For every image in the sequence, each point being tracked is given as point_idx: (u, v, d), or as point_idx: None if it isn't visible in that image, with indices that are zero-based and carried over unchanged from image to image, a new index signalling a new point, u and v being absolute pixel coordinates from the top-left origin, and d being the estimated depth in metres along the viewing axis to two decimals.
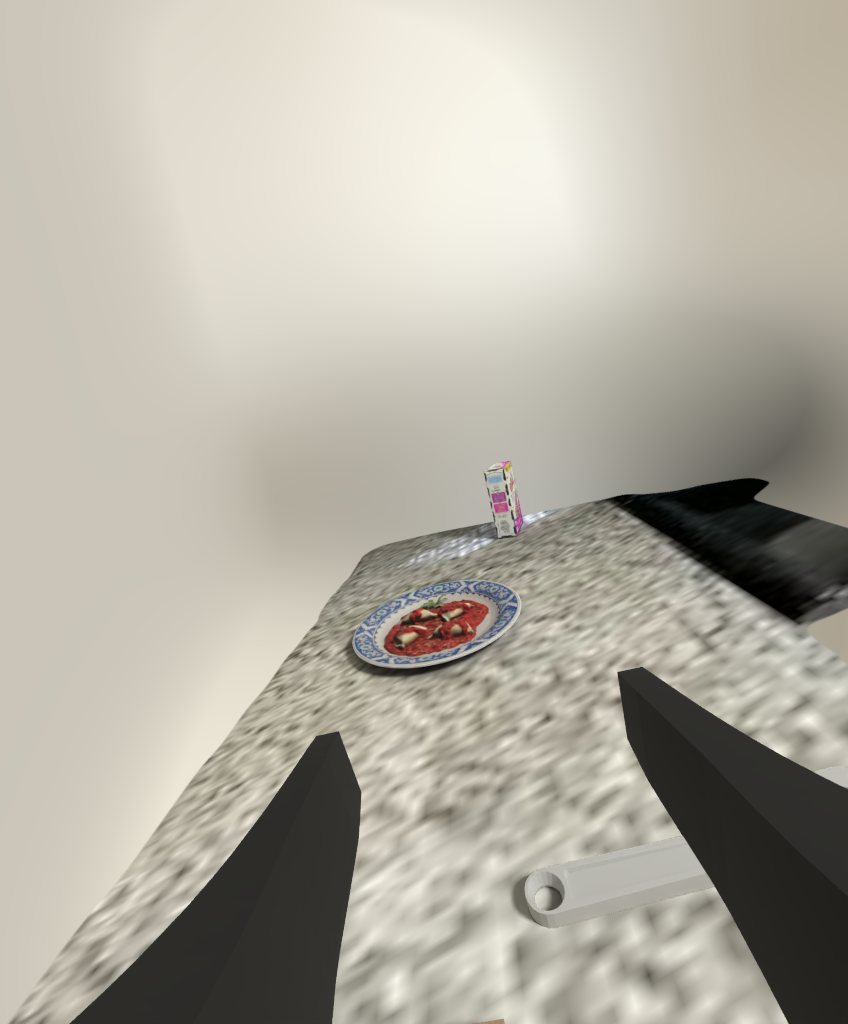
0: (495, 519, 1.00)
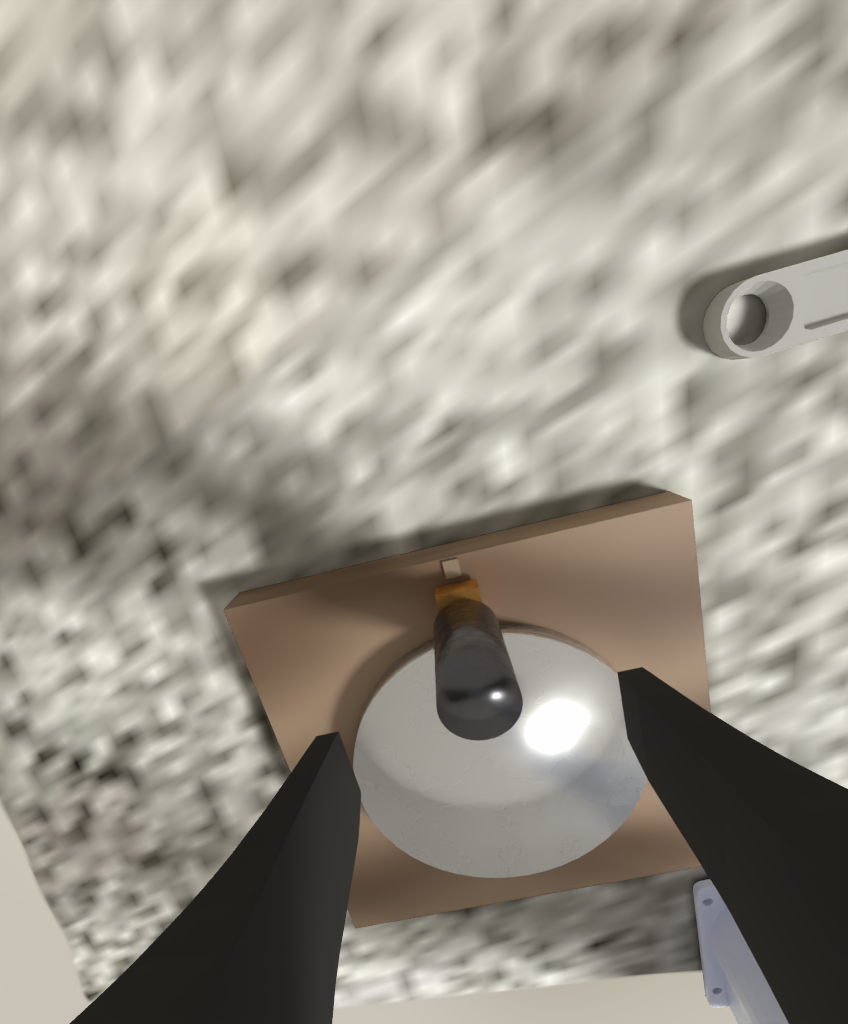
0: None
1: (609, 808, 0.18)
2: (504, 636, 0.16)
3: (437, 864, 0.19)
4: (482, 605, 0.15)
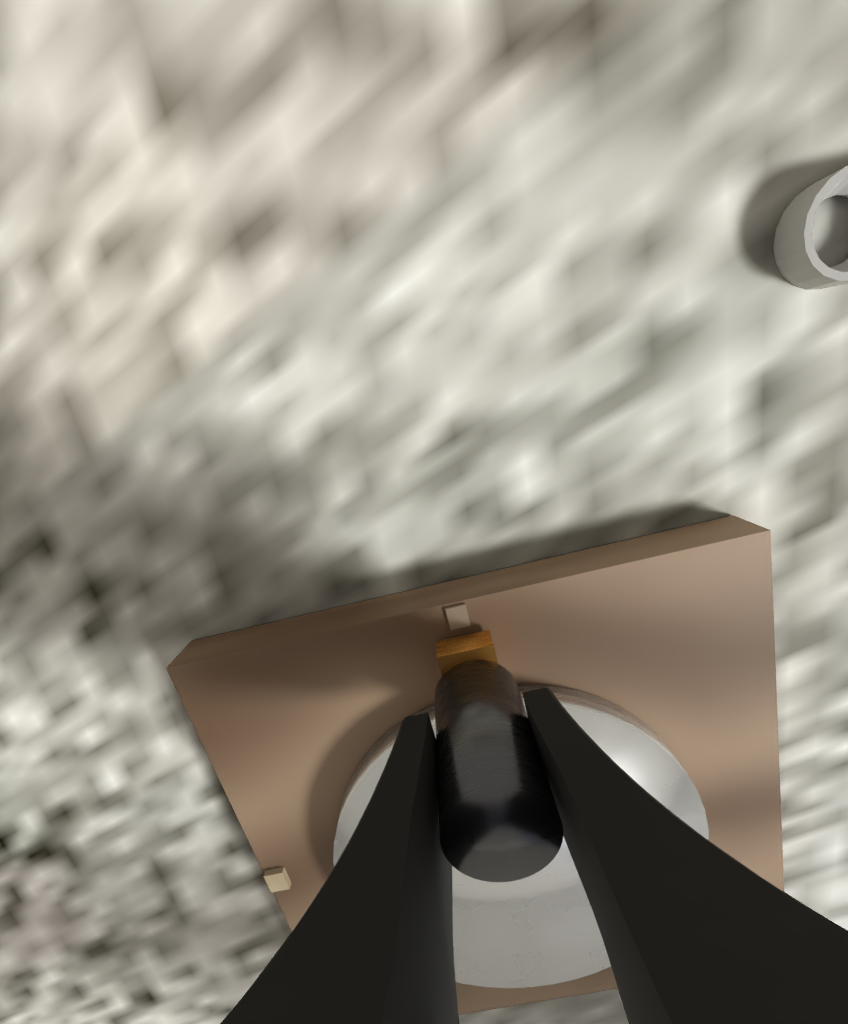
0: None
1: None
2: None
3: None
4: (498, 668, 0.12)
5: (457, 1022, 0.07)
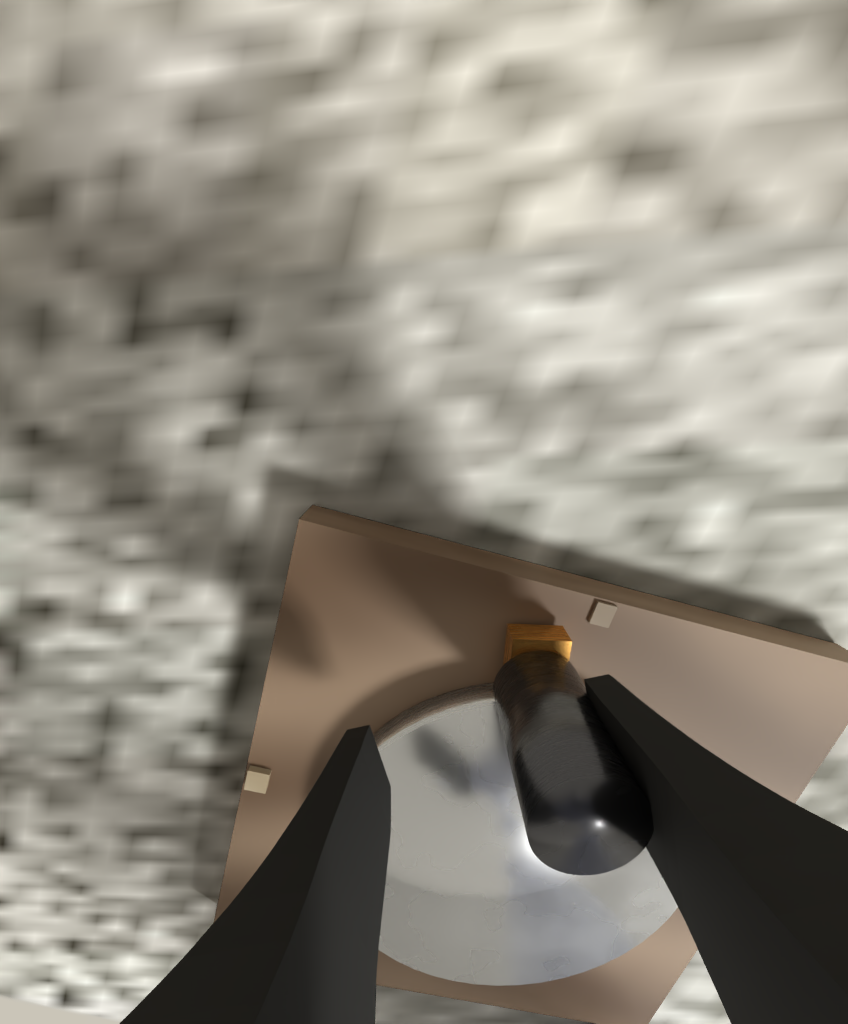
0: None
1: (620, 932, 0.15)
2: None
3: (393, 953, 0.15)
4: (571, 665, 0.12)
5: None
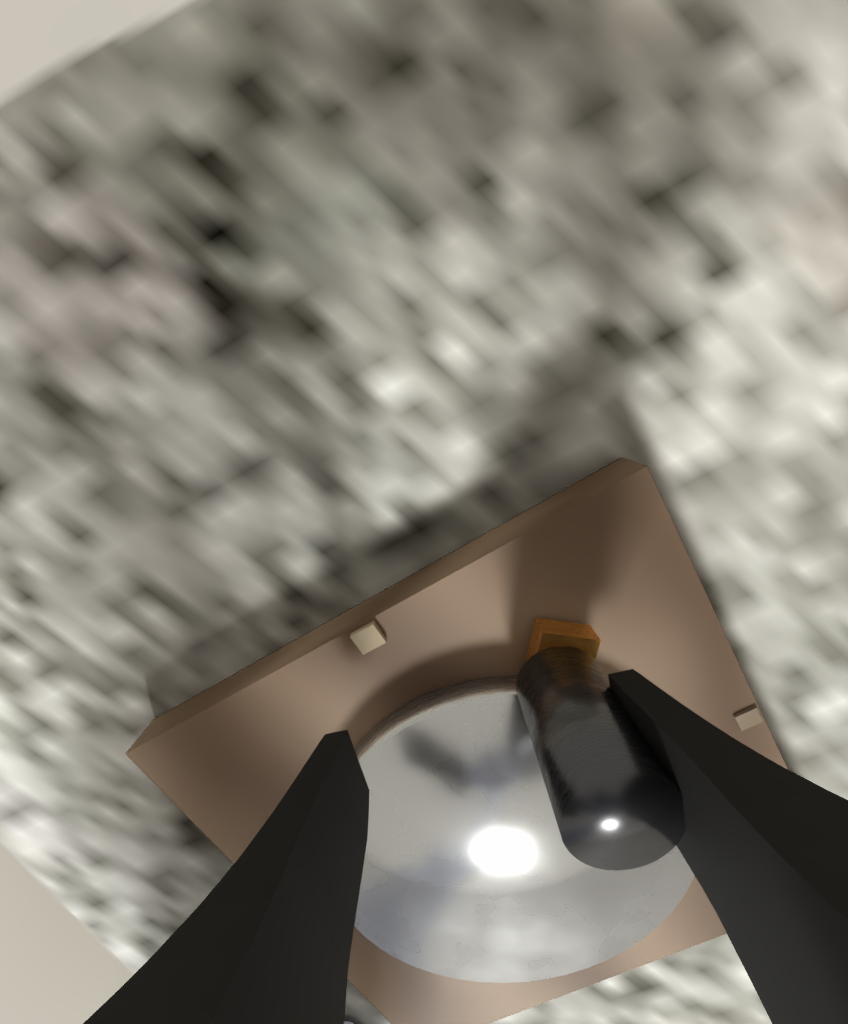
0: None
1: (607, 938, 0.15)
2: None
3: (378, 941, 0.15)
4: (598, 664, 0.11)
5: None
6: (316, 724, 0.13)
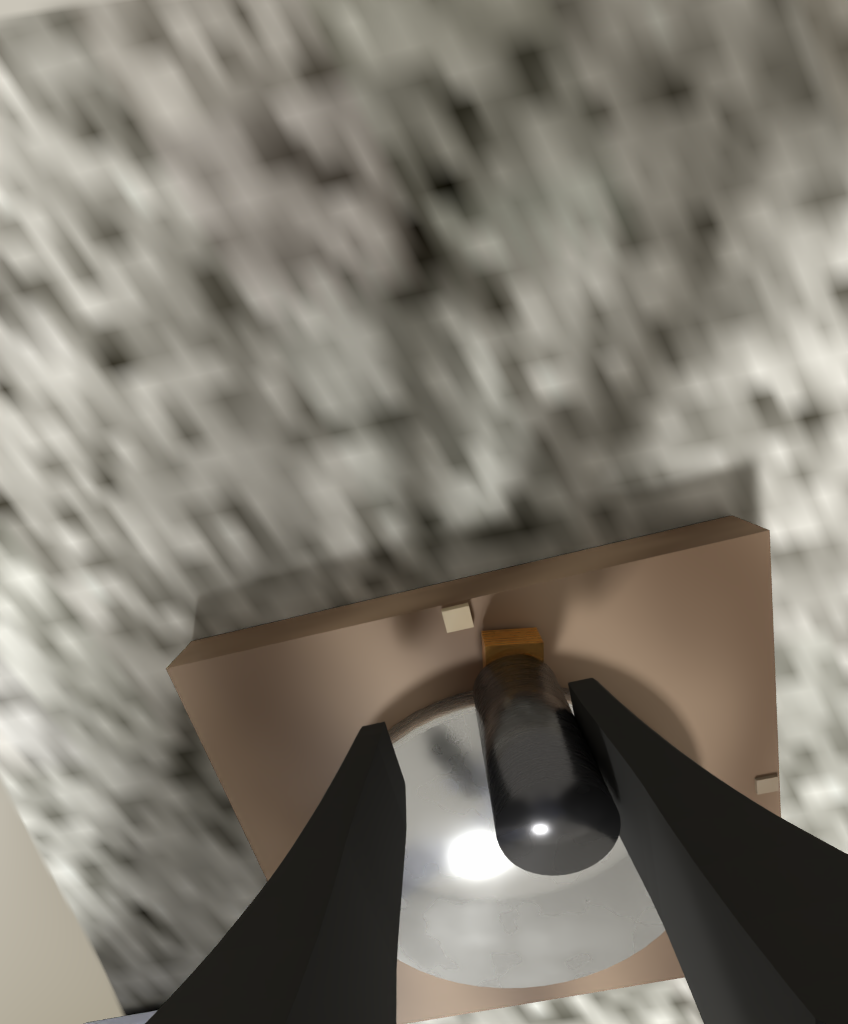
0: None
1: (638, 926, 0.15)
2: None
3: (415, 964, 0.15)
4: (545, 666, 0.12)
5: None
6: (372, 688, 0.13)
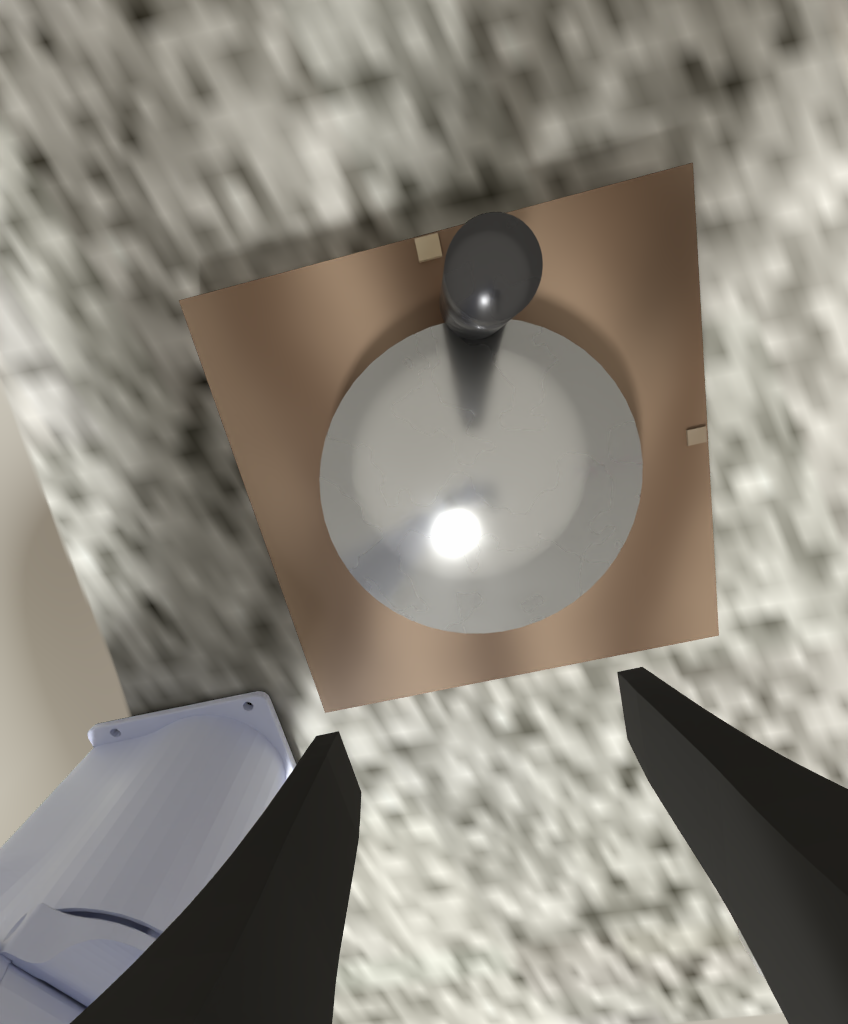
0: None
1: (583, 564, 0.17)
2: None
3: (390, 604, 0.17)
4: None
5: None
6: (355, 325, 0.15)
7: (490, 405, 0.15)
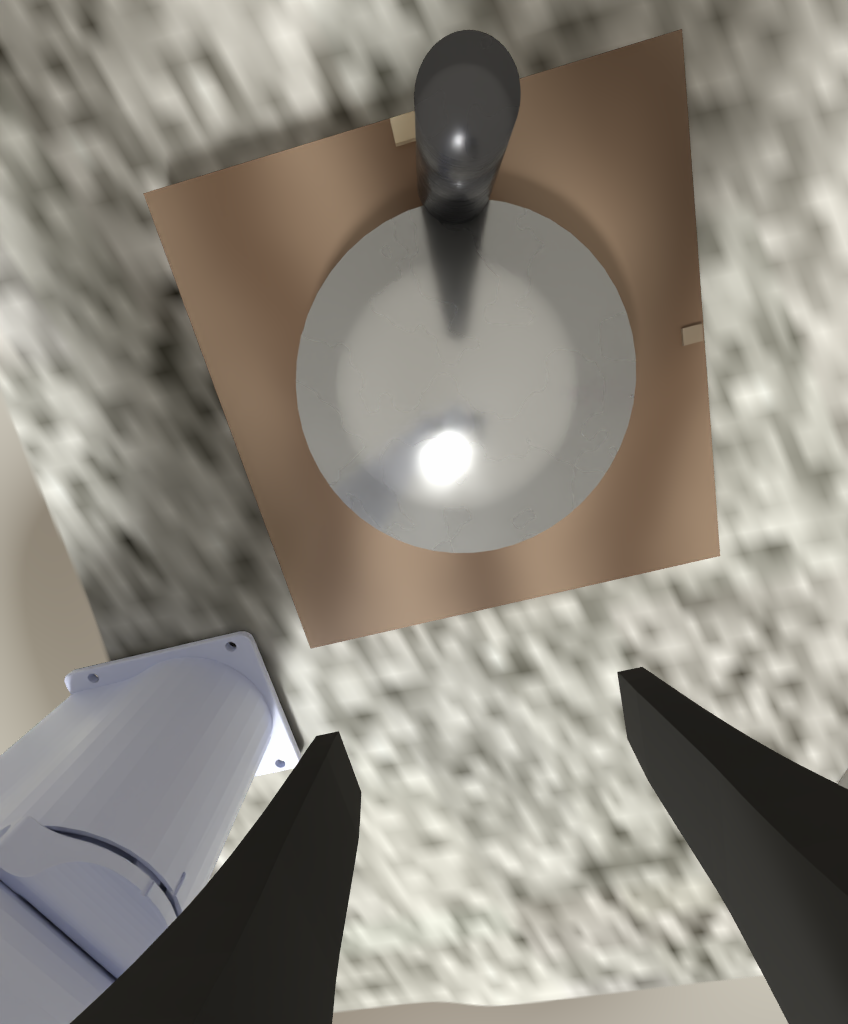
0: None
1: (576, 473, 0.16)
2: (497, 201, 0.14)
3: (374, 522, 0.16)
4: None
5: None
6: (330, 217, 0.15)
7: (473, 297, 0.14)
